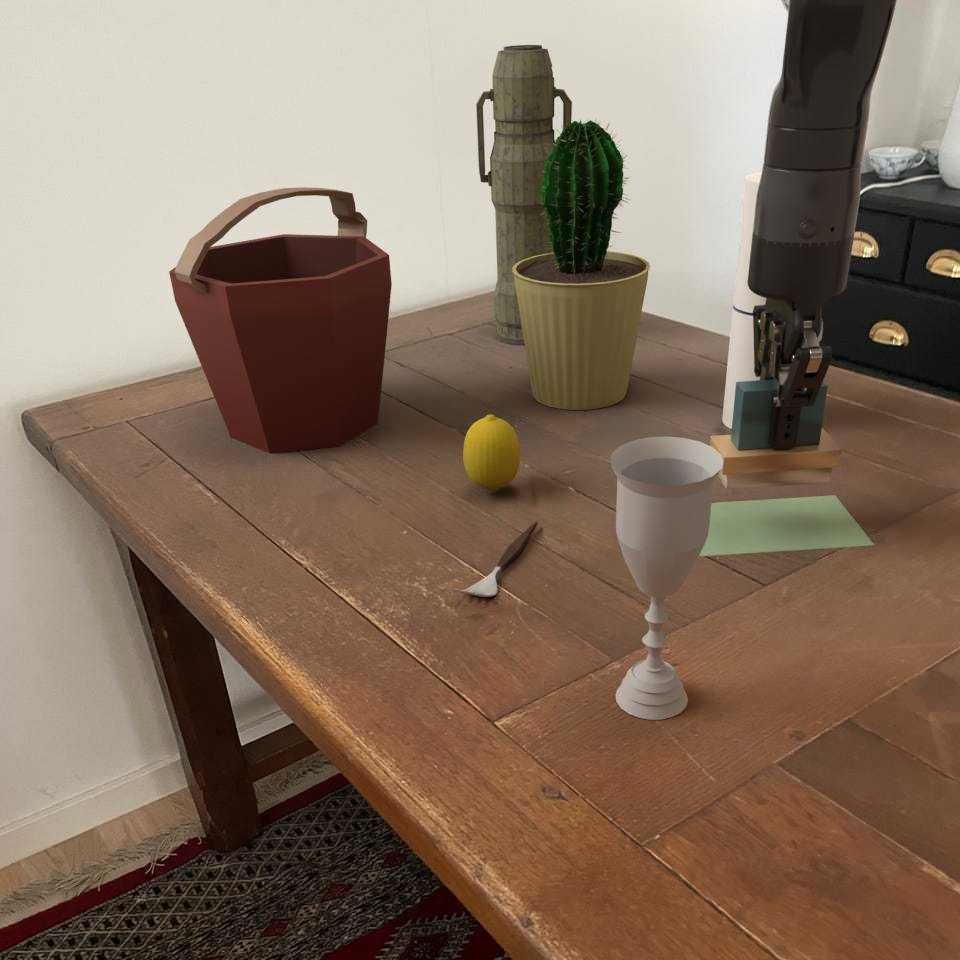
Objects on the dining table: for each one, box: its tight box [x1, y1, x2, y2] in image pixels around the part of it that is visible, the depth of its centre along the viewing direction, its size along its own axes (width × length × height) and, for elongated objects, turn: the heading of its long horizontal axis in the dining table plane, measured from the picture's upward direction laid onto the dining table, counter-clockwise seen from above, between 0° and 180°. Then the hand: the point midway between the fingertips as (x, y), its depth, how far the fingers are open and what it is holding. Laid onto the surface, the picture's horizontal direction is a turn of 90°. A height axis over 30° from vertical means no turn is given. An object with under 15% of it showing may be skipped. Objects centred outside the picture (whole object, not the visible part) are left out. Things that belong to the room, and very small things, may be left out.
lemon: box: [462, 414, 521, 494], centre depth 99 cm, size 6×6×8 cm
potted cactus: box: [512, 118, 651, 411], centre depth 115 cm, size 15×15×30 cm
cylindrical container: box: [721, 171, 770, 430], centre depth 106 cm, size 7×7×25 cm
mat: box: [698, 494, 875, 558], centre depth 92 cm, size 16×10×1 cm, turn 93°
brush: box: [709, 379, 842, 490], centre depth 87 cm, size 10×5×8 cm, turn 93°
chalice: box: [609, 436, 724, 721], centre depth 67 cm, size 7×7×18 cm
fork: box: [451, 521, 539, 598], centre depth 88 cm, size 3×16×2 cm, turn 156°
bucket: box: [168, 186, 393, 454], centre depth 111 cm, size 24×22×25 cm
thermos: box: [475, 44, 573, 346], centre depth 133 cm, size 9×12×35 cm
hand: (776, 439), depth 88 cm, fingers closed on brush, 2 cm apart
